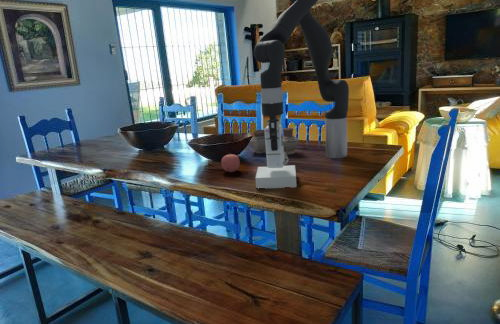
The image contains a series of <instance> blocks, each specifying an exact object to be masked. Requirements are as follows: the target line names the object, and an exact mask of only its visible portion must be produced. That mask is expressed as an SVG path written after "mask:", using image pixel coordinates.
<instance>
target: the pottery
mask: <svg viewBox="0 0 500 324" xmlns="http://www.w3.org/2000/svg"><path fill="white" fill-rule="evenodd" d="M293 131H294V127H286V128H285V127H284V128H283V127H282V133H283V146H284V151H285V150H286V151H285V152H286V154H287V155H293V154H296V152H295V151H296V149H297V148H298V145H299V141H300V140H299V138H298V137H297V136H295V135H293ZM253 135H254V136H253V137H252V138H250V139H251V140H250V139H249V140H250V142H249V144H250V147H251V148H252V149H253V150H255V151H254V152H255V154H266V146H265V133H264V129H256V130H254V131H253Z"/></svg>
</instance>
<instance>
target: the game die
mask: <svg viewBox="0 0 500 324" xmlns="http://www.w3.org/2000/svg"><path fill="white" fill-rule="evenodd" d="M285 151H286V150H285ZM285 151H284V161H285V163H284V166H287V164H289V162H291V161H292V160H291V159H289V157H288V154H286V152H285Z"/></svg>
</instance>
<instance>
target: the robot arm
mask: <svg viewBox="0 0 500 324" xmlns="http://www.w3.org/2000/svg"><path fill="white" fill-rule="evenodd" d="M318 1H319V0H289V2H290V4H291V5H290V6H289V7H288V8H287V9H285V10H284V11H282V13H281V14H279V16H278V17H277V18H276V20H275V22H274V23H273V25H272V26H271V28H270V30H269V31H267V32H266V33H265V34H264V35H263V36H262V37H261V38H259V40H258V41H257V43H256V44H255V45H254V49H253V56H254V59H255V61H256V62H258V63H259V64H260V63H261V64H267V63H269V65H268V69H264V70H263V71H261V73H260V88H261V89H260V100H261V101H260V104H261V114H262V115H263V117H269V119H267V121H266V122H267V126H268V130H269V134H270V140H271V150H272V151H277V150H278V145H277V139H278V137H277V133H278V129H277V128H278V126H279V125H280V119H279V118H278V116H281V115H283V114H284V98H283V97H284V96H283V95H284V94H283V88H282V71H283V67H284V61H285V57H286V49H285V44H287V42H288V41H289V39H290V38H291V36H292V34H293V33H294V31H295V29H296V28H297V26H298V24H299V26H300V29H301V32H302V33H303V34H302V35H303V37H304V40H305V43H306V44H305V45H306V48H307V50H308V53H309V56H310V58H311V61H312V65H313V68H314V72H315V75H316V80H317V84H318V89H319V93H320V96H321V98H322V100H323V101H324V102H329V103H334V106H333V107H332V108H331V109H329V110H326V111H325V112H324V123H325V124H324V125H325V126H324V127H325V157H326V158H328V159H343V158H347V157H348V111H349V98H350V97H349V95H350V88H349V84H348V81H346V80H345V79H331V76H330V72H329V66H330V62H331V59H332V56H333V45H332V41H331V38H330V34H329V33H328V31H327V29H326V28H324V26H323V25H322V24H321V23H320V22H319V21H318V20H316V18H314V16H313V14H312V13H311V9H312V8H313V7H314V5H316V4H317V2H318ZM272 133H275V134H276V136H272Z"/></svg>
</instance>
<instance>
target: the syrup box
mask: <svg viewBox="0 0 500 324" xmlns="http://www.w3.org/2000/svg"><path fill="white" fill-rule="evenodd" d="M277 129H278V133H277V137H278V139H277V145H278V150H277V151H272V150H271V140H270V134H269V130H268V125H267V126H266V127H264V129H263V130H264V133H265V146H266V153H265V154H266V158H265V159H266V167H268V168H283V166H284V163H285V161H284V146H283V136H284V133H283V125H282V124H279V126H278V128H277ZM272 136H276V134H275V133H272Z"/></svg>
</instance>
